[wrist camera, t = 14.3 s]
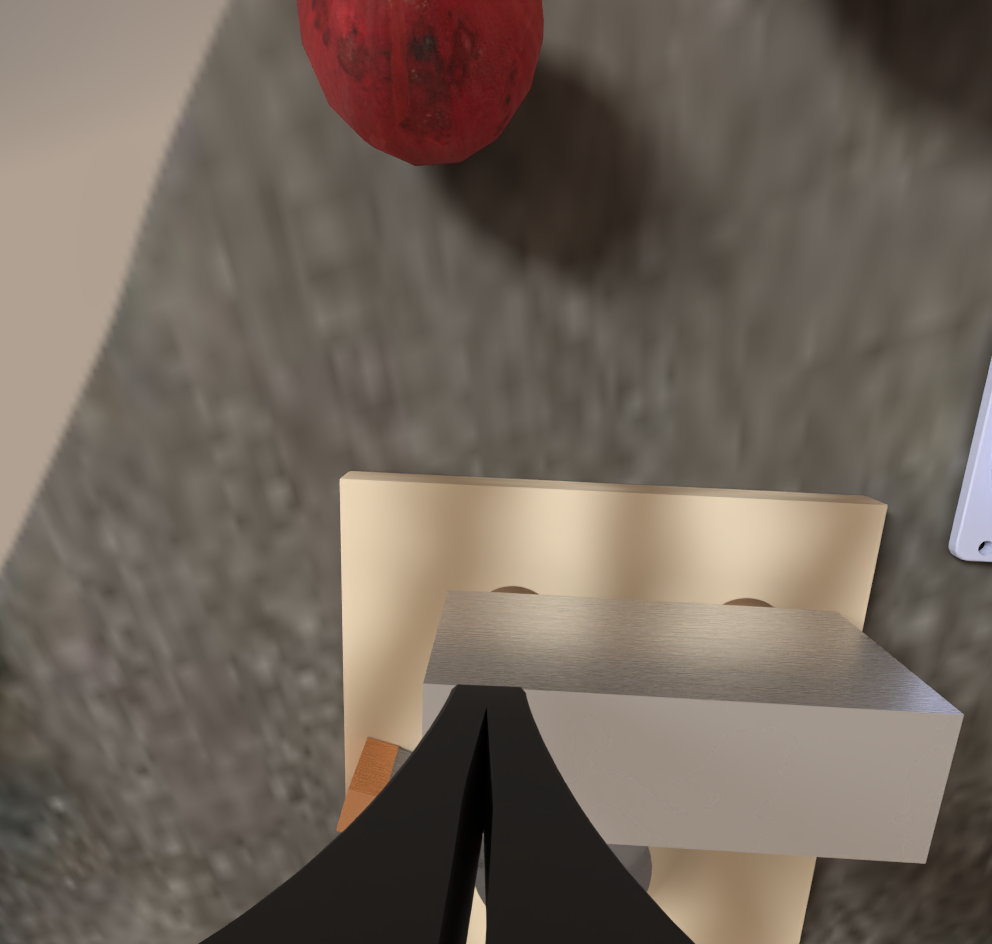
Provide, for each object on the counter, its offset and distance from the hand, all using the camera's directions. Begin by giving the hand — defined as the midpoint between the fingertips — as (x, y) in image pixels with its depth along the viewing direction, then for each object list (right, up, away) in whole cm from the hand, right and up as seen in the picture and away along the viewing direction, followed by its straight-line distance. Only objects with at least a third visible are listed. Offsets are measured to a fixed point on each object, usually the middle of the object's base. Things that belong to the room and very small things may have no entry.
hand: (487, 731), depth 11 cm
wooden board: (+4, -5, +11) cm, 13 cm away
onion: (-1, +17, +7) cm, 18 cm away
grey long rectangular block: (+5, -1, +7) cm, 8 cm away
